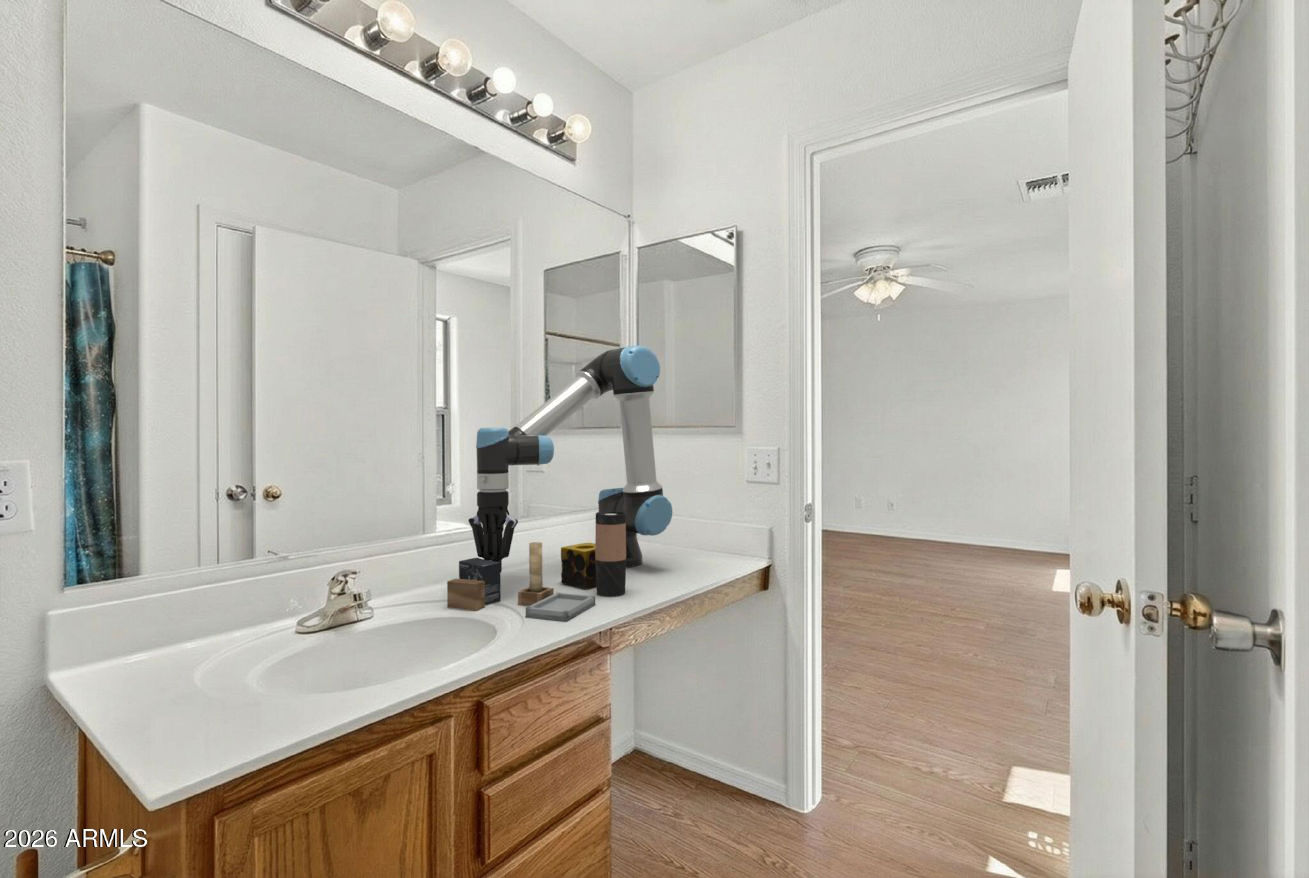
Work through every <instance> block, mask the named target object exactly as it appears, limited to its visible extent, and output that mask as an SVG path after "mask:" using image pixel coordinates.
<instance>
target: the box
mask: <svg viewBox="0 0 1309 878" xmlns="http://www.w3.org/2000/svg"><path fill="white" fill-rule="evenodd" d="M458 579H466V580H476V581H485V606H488V605H491V604H494V603H495V604H496V603H499V602H501V599H502V597H501V595H502V594H501V592H502V590H501V589H502V588H501V583H502V582H501V573H500V562H494V561H489V560H484V558H481V557H473V558H468V559H467V558H466V559H464V560H463V559H462V560H459V561H458Z"/></svg>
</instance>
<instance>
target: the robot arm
mask: <svg viewBox="0 0 1309 878" xmlns="http://www.w3.org/2000/svg"><path fill="white" fill-rule="evenodd" d="M660 374H661V366H660V361H659V359H658V357H657V355H656V354H655V353H654V352H653V351H652V350H651V349H650V348H648V347H647V346H644V345H627V346H625V347H619V348H616V349H615V348H614V349H609V350H606V351H604V352H602V353H600V354H599V355H598V356H597V357H595V358H594V359H592V360H591V361H590V362H588V364H586V365H585V366H584V367H582V368H581V369H579V370H578V372H577V373H576V375H575V378H574V379H572V381H570V382H569V383H568V384H566V385H565V386H564V387H563V388H561V389H560V390H559V391H558V392H556V393H555V394H554V395H552V396H551V397H550V398H548V400H546V401H545V402H544V403H543V404H542V405H540V406H538V407H537V409H535V410H534V411H532V412H531V413H530V414H529V415H528V416H526V417H525V418H523V419H522V420H521V421H520V422H519V423H517V424H516V425H515V426H513V427H512V428H511V429H508V428H507V427H480V428H479V429H477V432H476V443H475V448H476V488H477V490H478V491H477V493H476V506H477V507H478V508H477V511H476V515H475V516H473V517H470V518H469V519H468V523H469V525H470V527H471V531H472V534H473V535H472V536H473V539H474V544H475V550H476V554H477V558H481V559H484V560H489V561H494V562H500V574H501V573H502V571H503V570H502V560H503V559H506V558H508V557H509V556H510V552H511V547H512V542H513V538H514V532H515V528H516V527H517V525H518V522H519V521H518V518H517V519H516V518H513V517H512V516H510V512H509V510H508V506H509V502H510V501H509V500H510V499H509V497H510V496H509V492H508V491H507V490H508V489H509V486H510V483H509V478H510V477H509V466H530V465H531V466H536V465H537V466H540V465H547V464H549V463H551V462H552V461H553V458H554V456H555V455H554V454H555V445H554V442H553V440H552V438H551V437H550V436H549V434H551V433H552V432H553V431H554V430H555V429H557V428H558V427H559V426H560V425H561V424H563V423H564V422H565V421H566V420H567V419H570V417H572V415H574V414H575V413H576V412H578V411H579V410H580V409H581V408H583V406H584V405H586V404H588V402H590V401H591V400H592V399H595V400H597V399H598V398H600V397H601V396H602V395H604V394H605V393H606V394H607V393H608V392H610V391H612V393H613V397H614V398H616V399H617V400H618V402H619V409H620V421H621V422H620V423H621V431H622V443H623V453H624V454H623V455H624V464H625V465H624V466H625V475H626V477H625V478H626V485H624V487H617V488H606V489H605V488H604V489H601V490H600V491H599V493H598V501H597V504H598V512H600V513H601V514H606V513H607V512H609V511H619V512H625V514H626V568H631V567H636V566H640V565H642V564H643V553H642V549H641V547H640V544H639V541H638V538H637V534H638V535H639V534H640V535H641V536H657V535H660V534H661V533H663V532H665V530H666V529H667V527H668V526H669V525H670V524H671V521H672V517H673V507H672V503H671V501H670V500H668V498H667V497H665V496H664V490H663V485H662V484H661V483H659V482H658V481H657V472H656V469H657V468H656V460H655V450H654V449H655V448H654V437H653V427H652V416H651V403H650V399H651V396H652V395H653V394H654V392H655V390H654V389H655V387H654V384H655V383H657V381H658V378H660ZM504 525H505V527H504Z"/></svg>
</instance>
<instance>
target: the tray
mask: <svg viewBox="0 0 1309 878" xmlns="http://www.w3.org/2000/svg"><path fill="white" fill-rule="evenodd" d="M594 606H596V596H595V595H587V594H576V593H567V592H555V593H554V594H553V595H551V596H549V597H547V598H545V599H543V600H541V601H539V602H537V603H535V604H533V605H530V606H526V607H525V618H528V619H529V618H532V619H540V620H549V621H557V622H565V623H566V622H569V621H570V620H571V619H574V618H575V617H577V616H579V615H580V614H583V612H586V611H588V610H589V609H591V608H592V607H594Z"/></svg>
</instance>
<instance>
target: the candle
mask: <svg viewBox="0 0 1309 878" xmlns="http://www.w3.org/2000/svg"><path fill="white" fill-rule="evenodd" d="M595 560H596V559H595V543H594V542H584V543H577V544H571V545H565V546H562V547H560V561H561V573H560V577H561V584H562V585H565V586H568V587H569V586H570V587H572V588H579V589H580V590H592V589H595V588H596V562H595Z"/></svg>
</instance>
